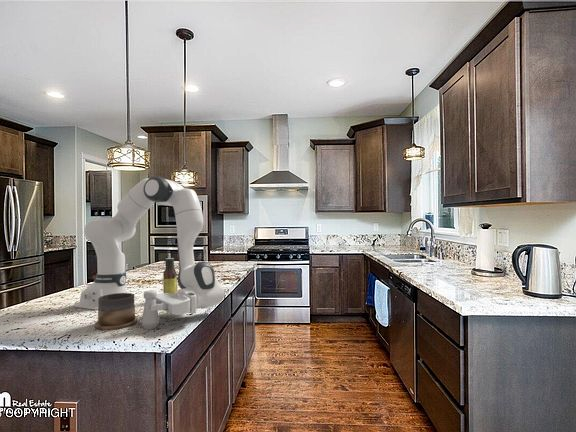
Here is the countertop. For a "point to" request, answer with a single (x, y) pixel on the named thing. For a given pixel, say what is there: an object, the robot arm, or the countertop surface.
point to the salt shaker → (150, 317)
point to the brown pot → (116, 311)
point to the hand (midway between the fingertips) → (147, 306)
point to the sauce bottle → (170, 277)
